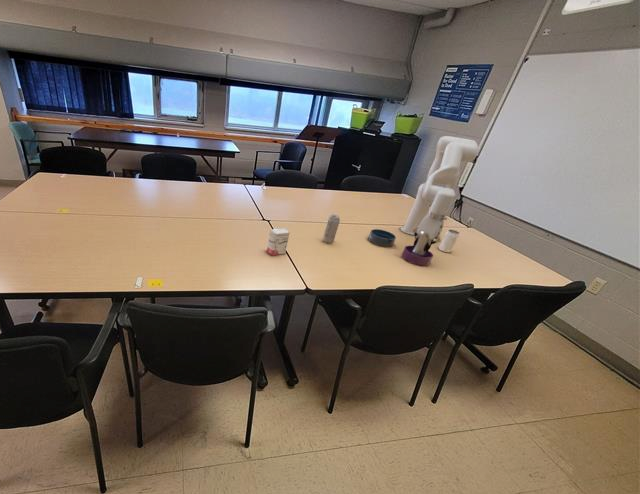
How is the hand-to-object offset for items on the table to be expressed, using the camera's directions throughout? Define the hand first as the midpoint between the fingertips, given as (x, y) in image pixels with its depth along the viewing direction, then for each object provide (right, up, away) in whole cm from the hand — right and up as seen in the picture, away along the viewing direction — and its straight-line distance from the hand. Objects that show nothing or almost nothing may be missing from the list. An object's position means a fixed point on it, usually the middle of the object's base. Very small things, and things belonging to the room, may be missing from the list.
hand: (420, 248), depth 168 cm
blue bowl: (-13, +6, +19) cm, 24 cm away
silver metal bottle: (-1, -6, +4) cm, 7 cm away
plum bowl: (-1, -6, +4) cm, 7 cm away
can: (+26, +1, +20) cm, 33 cm away
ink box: (-78, -3, -9) cm, 79 cm away
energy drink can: (-46, +5, +11) cm, 48 cm away
